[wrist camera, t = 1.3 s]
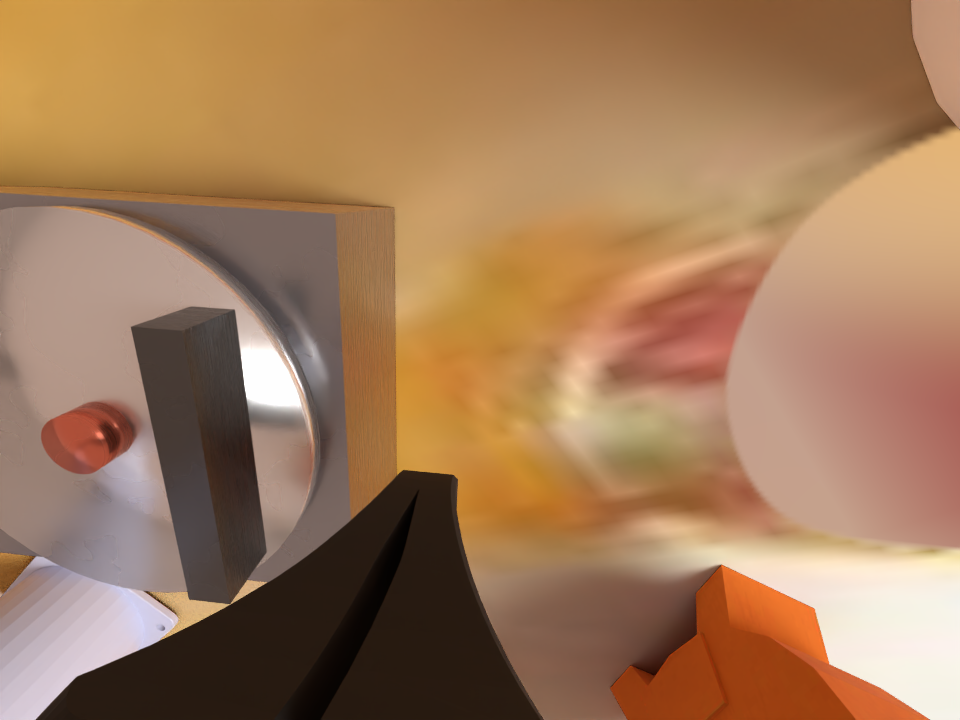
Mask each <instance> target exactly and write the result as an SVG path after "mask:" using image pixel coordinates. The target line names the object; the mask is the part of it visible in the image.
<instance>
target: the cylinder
mask: <svg viewBox="0 0 960 720" xmlns="http://www.w3.org/2000/svg"><path fill="white" fill-rule="evenodd" d="M911 13H912V30H913V39H914V42H915V44H916V47H917V50H918V53H919V55H920V58H921V61H922V64H923V66H924V69H925V72H926V75H927V77H928V80H929V83H930V85H931V88H932V91H933V94H934V96H935V99H936V102H937V103H938V105H939V106H940V107H941V108H942V109H943V111H944V112H945V113H946V114H947V115H948V116H949V118H950V119H951V120H952V121H953V122H954V124H955V125H956V126H957V127H958V128H959V130H960V0H911Z"/></svg>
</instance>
